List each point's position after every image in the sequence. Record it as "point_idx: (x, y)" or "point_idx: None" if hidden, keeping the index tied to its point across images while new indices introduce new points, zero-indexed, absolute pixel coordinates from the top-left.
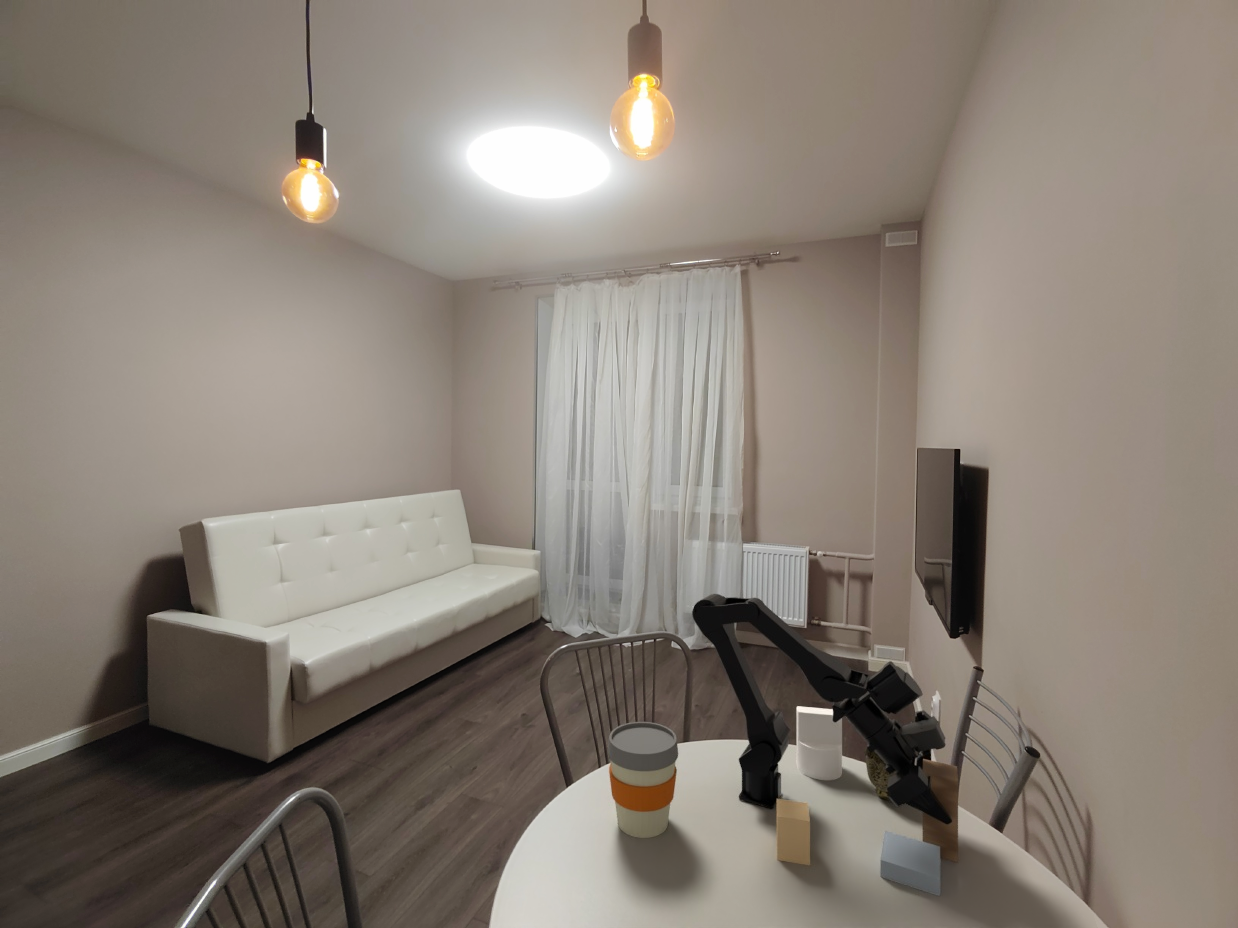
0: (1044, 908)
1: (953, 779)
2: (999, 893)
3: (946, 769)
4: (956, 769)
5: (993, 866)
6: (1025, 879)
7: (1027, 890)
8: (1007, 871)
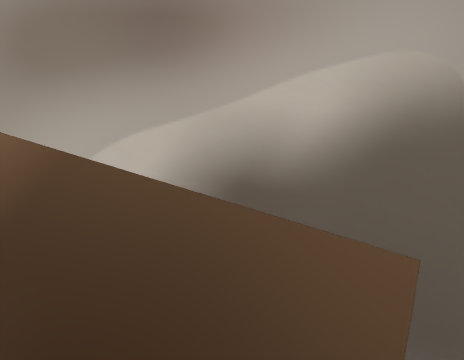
0: (452, 130)
1: (384, 326)
2: (430, 234)
3: (26, 321)
4: (29, 154)
5: (284, 198)
6: (326, 129)
7: (380, 144)
8: (299, 165)
